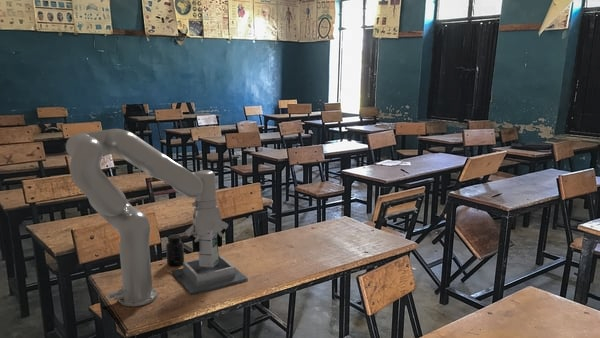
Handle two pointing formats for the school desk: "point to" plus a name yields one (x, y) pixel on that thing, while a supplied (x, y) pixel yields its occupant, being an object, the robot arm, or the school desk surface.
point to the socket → (207, 276)
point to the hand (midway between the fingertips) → (208, 248)
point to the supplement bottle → (174, 251)
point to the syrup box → (208, 250)
